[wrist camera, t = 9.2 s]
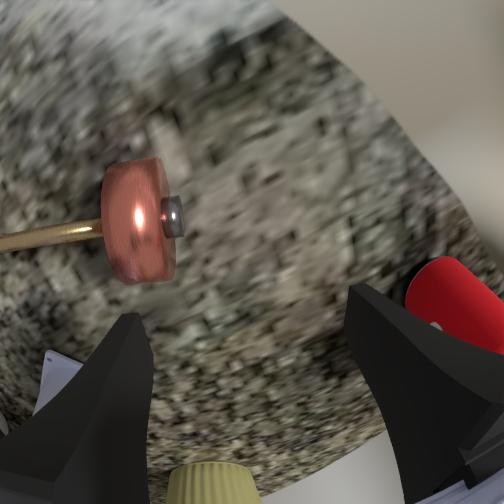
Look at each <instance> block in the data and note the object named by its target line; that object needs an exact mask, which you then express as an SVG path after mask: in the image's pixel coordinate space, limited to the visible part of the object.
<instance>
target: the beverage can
mask: <svg viewBox="0 0 504 504" xmlns="http://www.w3.org/2000/svg"><path fill="white" fill-rule="evenodd" d="M405 306H406V310H407V311H409V312H410V313H412V314H414V315H415V316H417V317H418V318H420V319H422V320H424V321H425V322H427V323H429V324H430V325H432V326H434V327H436V328H438V329H440V330H441V331H443V332H445V333H448V334H450V335H452V336H454V337H456V338H458V339H460V340H463V341H465V342H467V343H470V344H472V345H475V346H478V347H480V348H483V349H486V350H489V351H492V352H496V353H499V354H503V355H504V302H502V301H501V300H500V299H499V298H498V297H497V296H496V295H495V294H494V293H493V292H492V291H491V290H490V289H489V288H488V287H487V286H486V285H484V284H483V283H482V282H481V281H480V280H479V279H478V278H477V277H476V276H475V275H473V274H472V273H471V272H470V271H469V270H468V269H467V268H466V267H464V266H463V265H462V264H461V263H460V262H459V261H457V260H456V259H455V258H453V257H440V258H437V259H435V260H433V261H431V262H429V263H428V264H426V265H425V266H424V267H423V268H422V269H421V270H420V271H419V272H418V273H417V274H416V276H415V277H414V278H413V280H412V282H411V283H410V285H409V288H408V290H407V293H406V298H405Z"/></svg>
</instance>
